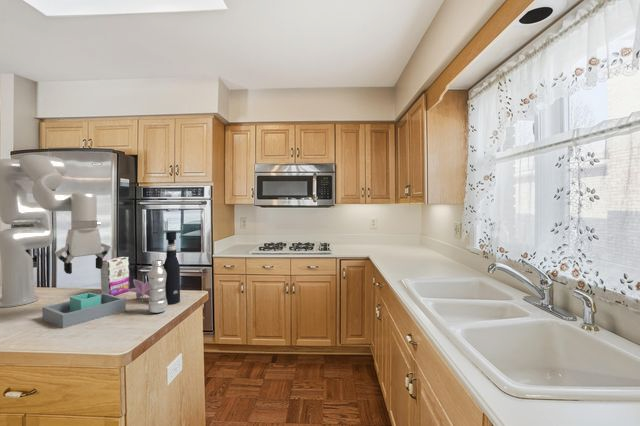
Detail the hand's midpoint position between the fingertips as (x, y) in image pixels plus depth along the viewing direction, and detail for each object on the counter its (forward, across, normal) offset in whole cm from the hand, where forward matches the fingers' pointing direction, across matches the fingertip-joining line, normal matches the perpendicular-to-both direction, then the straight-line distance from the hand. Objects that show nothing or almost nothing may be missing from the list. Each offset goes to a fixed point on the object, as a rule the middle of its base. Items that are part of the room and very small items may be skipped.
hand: (84, 270), depth 113 cm
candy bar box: (+17, -20, -18) cm, 32 cm away
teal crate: (+16, 0, +1) cm, 16 cm away
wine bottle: (+16, -25, +16) cm, 34 cm away
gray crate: (+17, 0, +1) cm, 17 cm away
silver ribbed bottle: (+16, -15, +22) cm, 31 cm away
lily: (+17, -21, +2) cm, 27 cm away
